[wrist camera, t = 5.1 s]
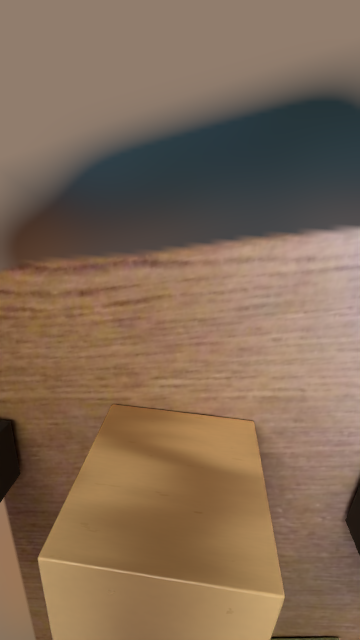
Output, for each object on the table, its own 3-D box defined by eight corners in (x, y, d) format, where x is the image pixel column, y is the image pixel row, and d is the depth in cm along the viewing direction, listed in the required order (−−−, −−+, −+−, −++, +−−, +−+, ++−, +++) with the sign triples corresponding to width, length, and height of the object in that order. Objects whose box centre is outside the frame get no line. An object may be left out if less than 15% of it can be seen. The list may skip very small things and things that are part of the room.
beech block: (114, 500, 13) (58, 674, 8) (111, 403, 11) (36, 558, 6) (234, 518, 12) (246, 709, 8) (254, 420, 10) (286, 598, 6)
